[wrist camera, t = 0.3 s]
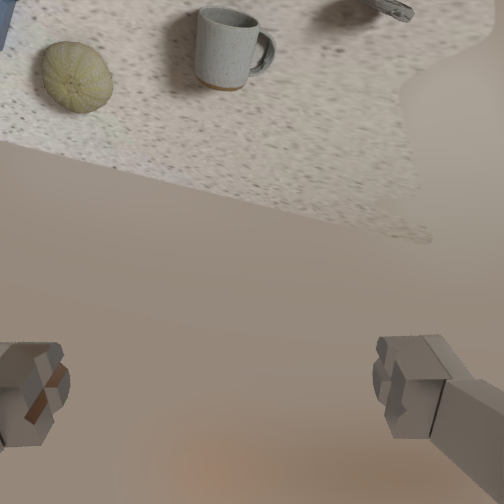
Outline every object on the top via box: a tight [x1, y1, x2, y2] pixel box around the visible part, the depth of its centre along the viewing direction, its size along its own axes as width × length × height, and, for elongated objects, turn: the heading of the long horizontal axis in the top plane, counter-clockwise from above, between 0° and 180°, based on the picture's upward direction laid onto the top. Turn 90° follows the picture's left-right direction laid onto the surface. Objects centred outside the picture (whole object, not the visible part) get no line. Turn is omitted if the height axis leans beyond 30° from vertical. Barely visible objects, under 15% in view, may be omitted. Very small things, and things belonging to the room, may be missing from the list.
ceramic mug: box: [194, 6, 276, 91], centre depth 49 cm, size 11×8×8 cm
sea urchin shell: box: [42, 41, 113, 114], centre depth 52 cm, size 9×8×8 cm
